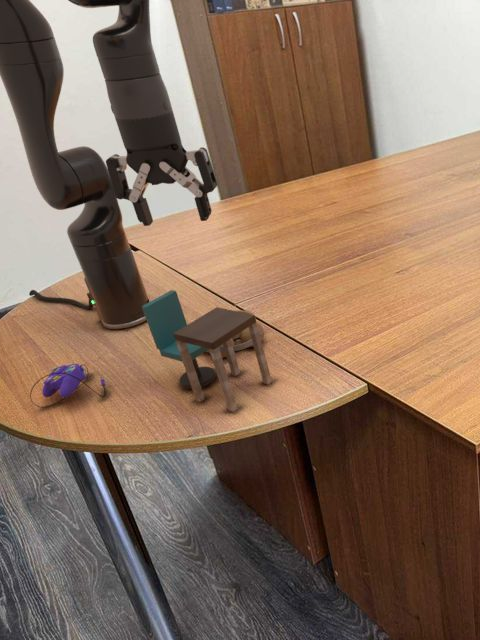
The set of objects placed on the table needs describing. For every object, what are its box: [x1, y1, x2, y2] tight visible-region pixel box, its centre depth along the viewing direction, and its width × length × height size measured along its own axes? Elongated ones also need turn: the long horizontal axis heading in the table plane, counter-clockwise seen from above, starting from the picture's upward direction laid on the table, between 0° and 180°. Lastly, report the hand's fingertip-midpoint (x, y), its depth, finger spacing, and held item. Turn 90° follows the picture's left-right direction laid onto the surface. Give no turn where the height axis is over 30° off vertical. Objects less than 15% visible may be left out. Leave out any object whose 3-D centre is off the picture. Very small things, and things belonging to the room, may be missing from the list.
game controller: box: [29, 363, 106, 409], centre depth 105 cm, size 10×8×10 cm
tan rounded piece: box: [205, 309, 265, 359], centre depth 118 cm, size 11×5×15 cm
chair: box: [142, 289, 217, 390], centre depth 105 cm, size 6×6×15 cm
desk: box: [173, 306, 273, 413], centre depth 102 cm, size 8×9×12 cm
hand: (176, 221), depth 99 cm, fingers open, 8 cm apart
